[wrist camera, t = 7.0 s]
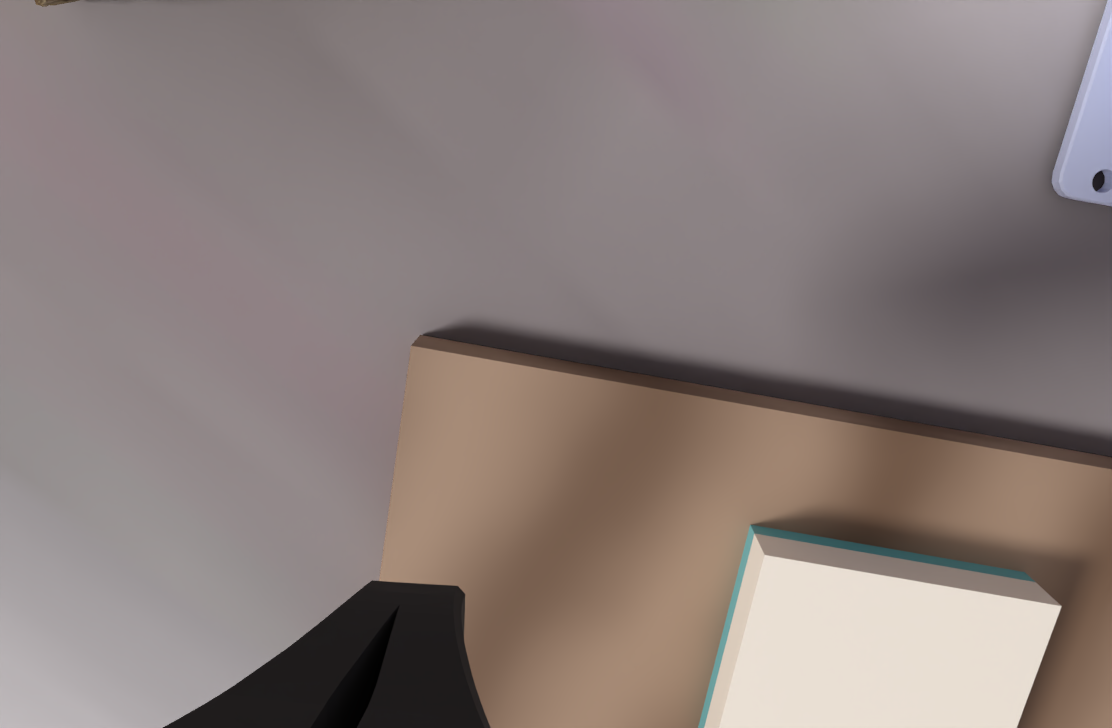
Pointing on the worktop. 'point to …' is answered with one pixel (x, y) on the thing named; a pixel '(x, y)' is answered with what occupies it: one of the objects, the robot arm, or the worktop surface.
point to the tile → (874, 639)
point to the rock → (52, 2)
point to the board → (702, 526)
